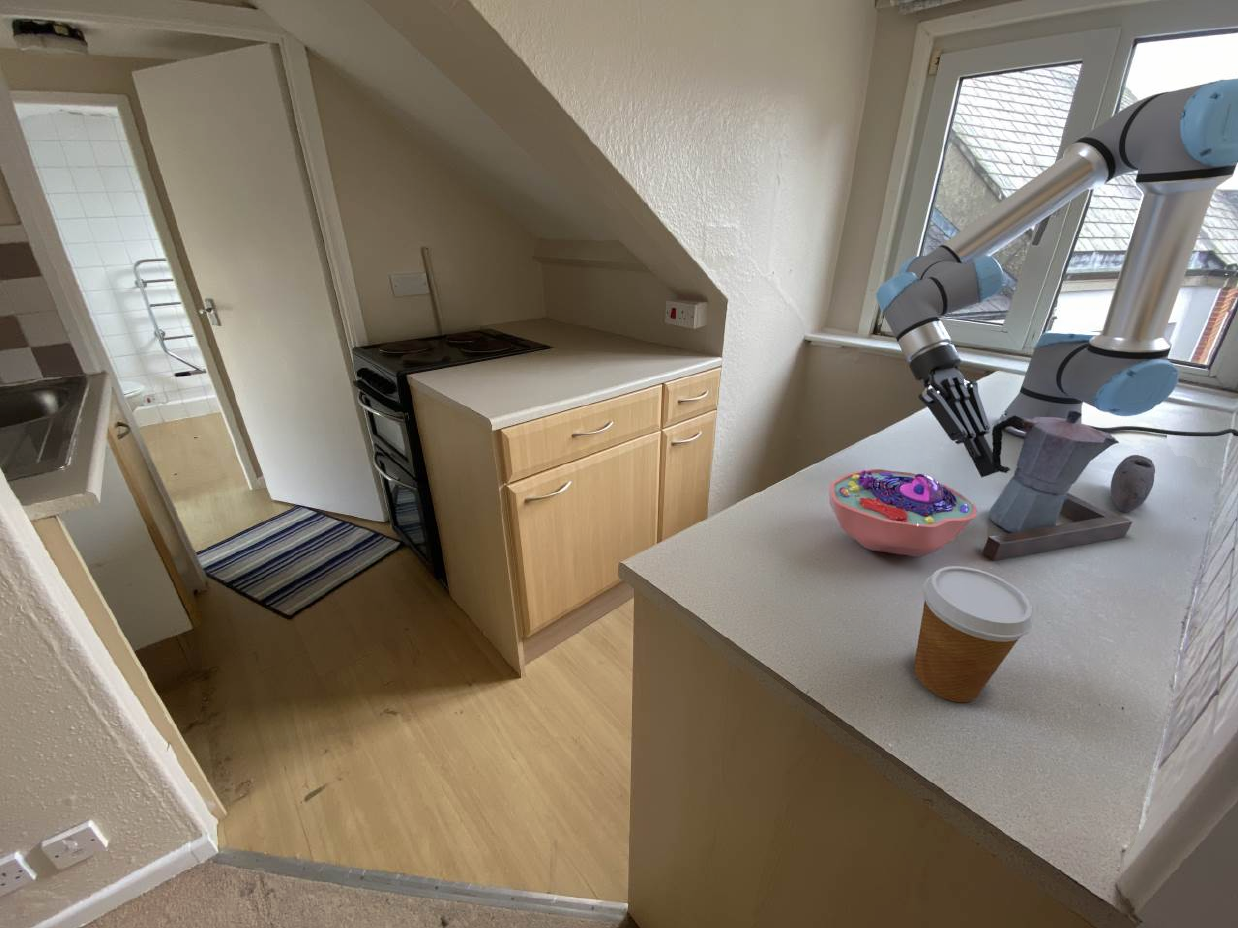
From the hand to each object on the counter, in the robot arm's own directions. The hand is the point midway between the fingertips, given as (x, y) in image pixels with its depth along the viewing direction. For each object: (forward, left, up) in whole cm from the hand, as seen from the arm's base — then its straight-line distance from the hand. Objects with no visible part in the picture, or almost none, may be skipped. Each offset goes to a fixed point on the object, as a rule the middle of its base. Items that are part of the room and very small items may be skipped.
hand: (991, 473), depth 89 cm
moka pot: (0, +7, -6) cm, 9 cm away
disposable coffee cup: (+36, +30, -6) cm, 47 cm away
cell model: (+24, +6, -6) cm, 25 cm away
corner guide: (-1, +5, -6) cm, 8 cm away
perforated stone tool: (-26, +5, -6) cm, 27 cm away
